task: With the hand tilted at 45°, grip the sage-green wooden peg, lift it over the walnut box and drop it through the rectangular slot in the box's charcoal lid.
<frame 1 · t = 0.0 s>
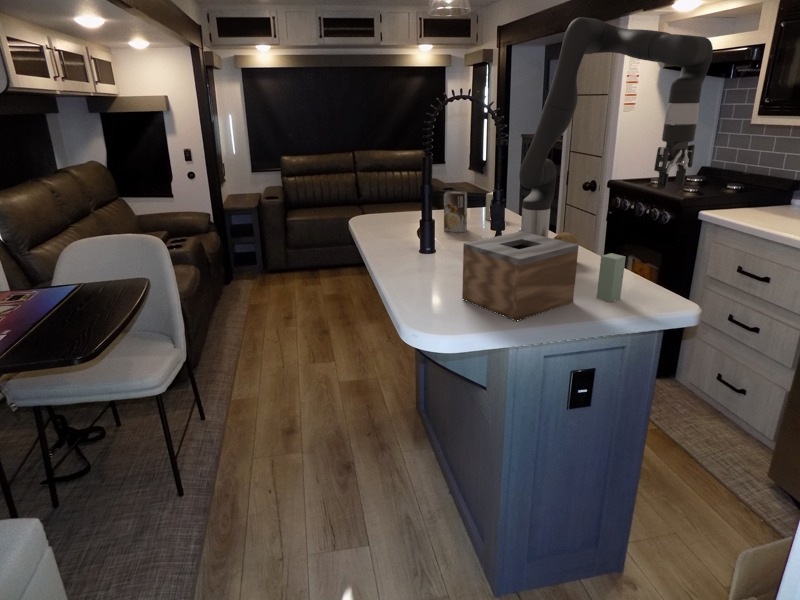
hand: (670, 186, 143), 29 cm above the table, tool pointing down, fingers open, 8 cm apart
sage peg: (608, 298, 148), on the table
skincare box: (492, 219, 249), on the table
natural sponge: (563, 261, 182), on the table
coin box: (516, 301, 147), on the table
coffee box: (455, 230, 229), on the table
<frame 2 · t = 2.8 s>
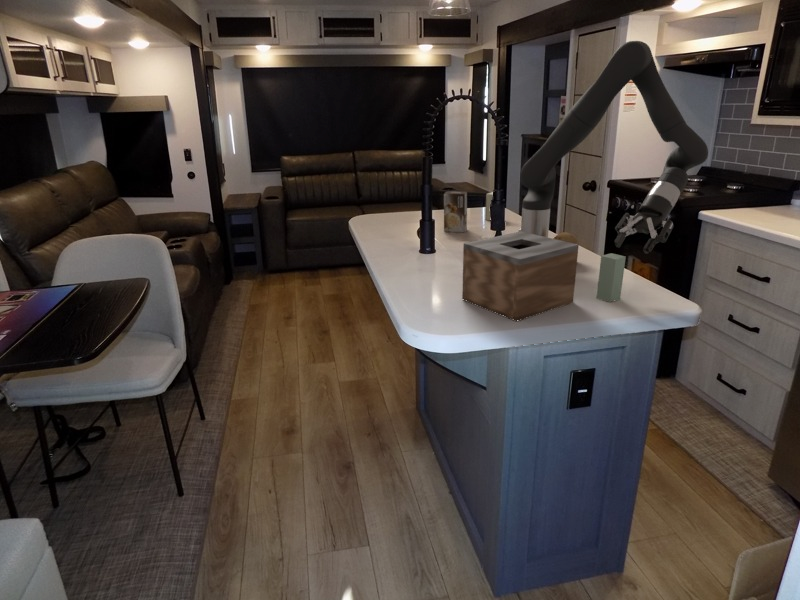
hand: (630, 248, 147), 13 cm above the table, tool tilted 45°, fingers open, 8 cm apart
nothing on the table moved.
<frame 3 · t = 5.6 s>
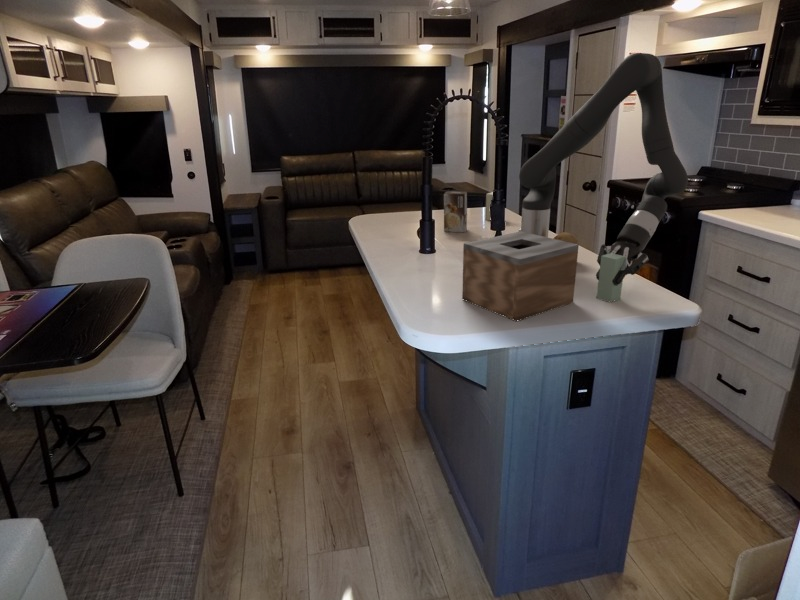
hand: (606, 281, 145), 5 cm above the table, tool tilted 45°, fingers closed on sage peg, 4 cm apart
sage peg: (608, 298, 148), on the table, touching gripper
everything else where it was.
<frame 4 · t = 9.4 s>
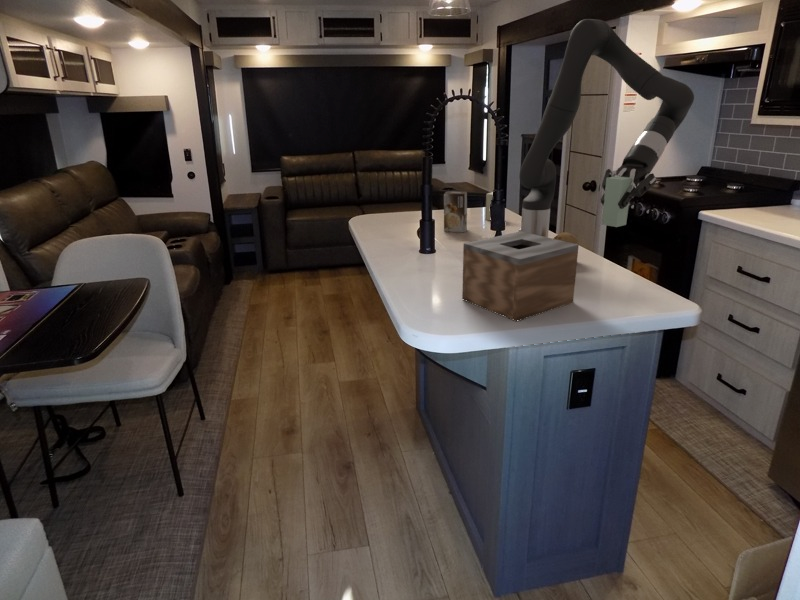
hand: (611, 205, 138), 26 cm above the table, tool tilted 45°, fingers closed on sage peg, 4 cm apart
sage peg: (613, 224, 141), point 21 cm above the table, touching gripper
everything else where it was.
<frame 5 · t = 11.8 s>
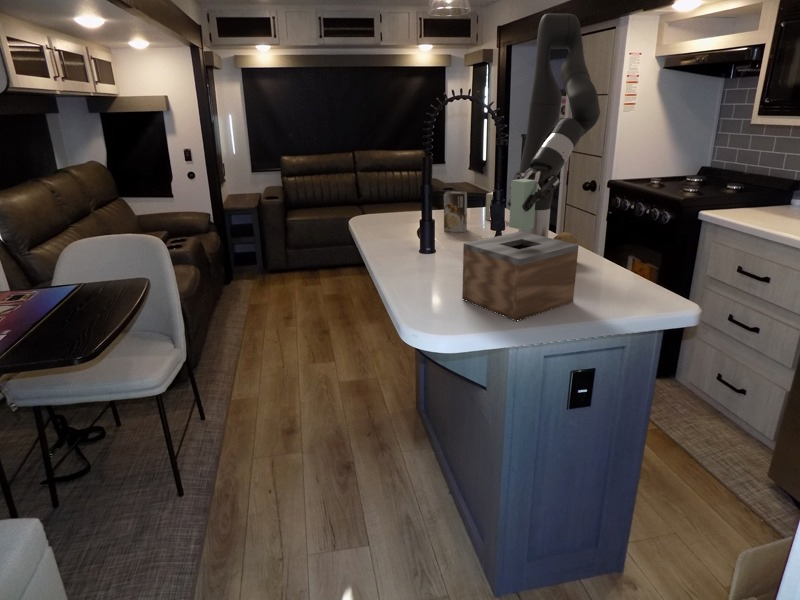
hand: (517, 207, 137), 26 cm above the table, tool tilted 45°, fingers closed on sage peg, 4 cm apart
sage peg: (521, 227, 140), point 20 cm above the table, touching gripper
everything else where it was.
when the fingers open (20 cm above the table, at t = 13.4 s): sage peg drops 14 cm, resting on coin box.
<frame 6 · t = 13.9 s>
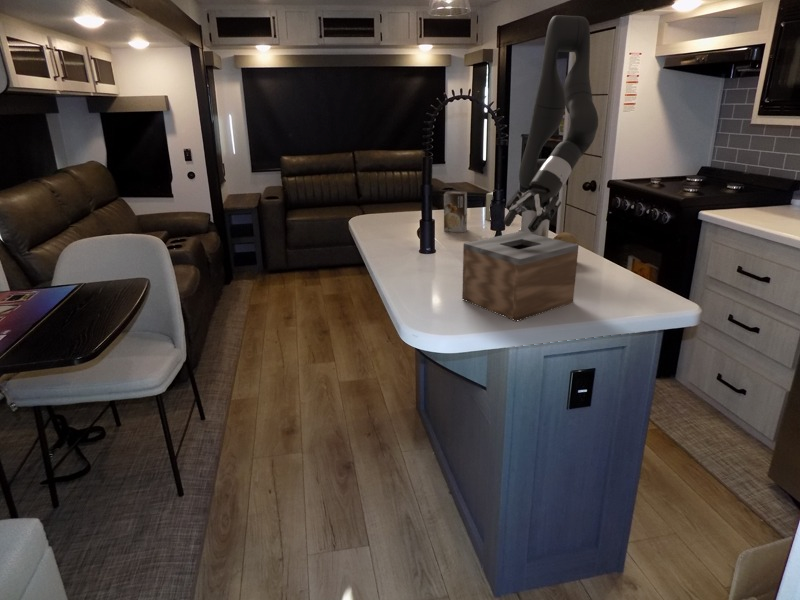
hand: (517, 227, 139), 21 cm above the table, tool tilted 45°, fingers open, 8 cm apart
sage peg: (517, 297, 147), point 1 cm above the table, touching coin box
everything else where it was.
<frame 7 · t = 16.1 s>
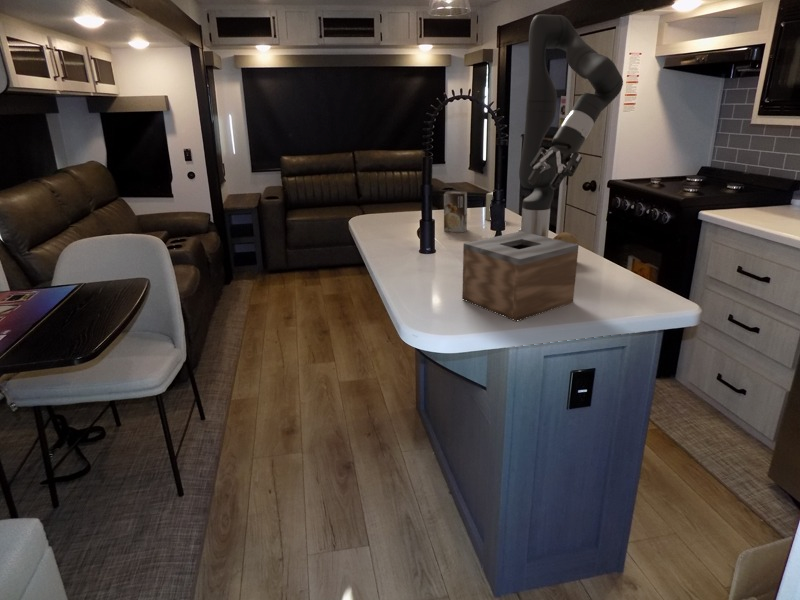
hand: (541, 185, 144), 30 cm above the table, tool tilted 35°, fingers open, 8 cm apart
nothing on the table moved.
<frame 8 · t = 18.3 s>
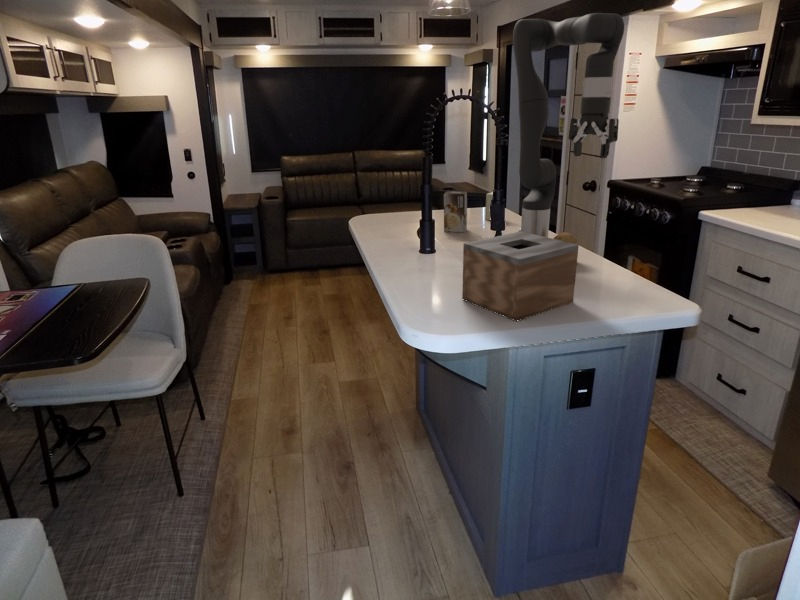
hand: (590, 157, 152), 36 cm above the table, tool pointing down, fingers open, 8 cm apart
nothing on the table moved.
at the end: sage peg inside the target area on the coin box (0.1 cm from its centre), point 1.0 cm above the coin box's base; the gripper is holding nothing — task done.
